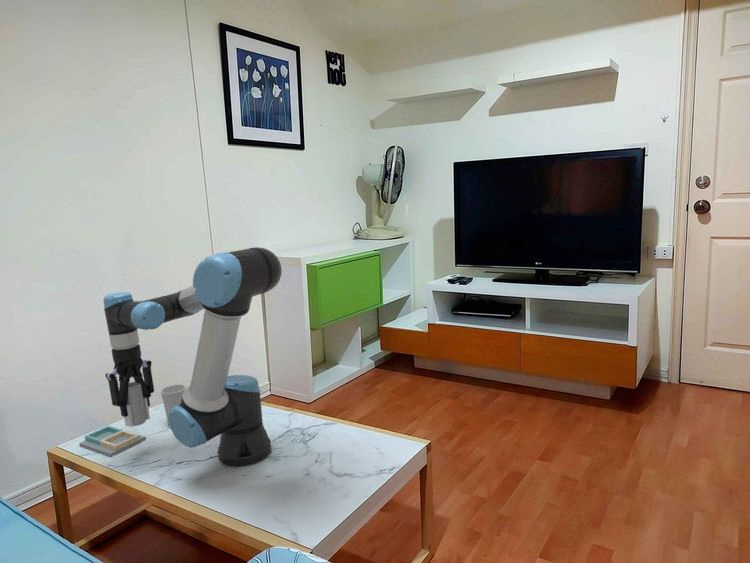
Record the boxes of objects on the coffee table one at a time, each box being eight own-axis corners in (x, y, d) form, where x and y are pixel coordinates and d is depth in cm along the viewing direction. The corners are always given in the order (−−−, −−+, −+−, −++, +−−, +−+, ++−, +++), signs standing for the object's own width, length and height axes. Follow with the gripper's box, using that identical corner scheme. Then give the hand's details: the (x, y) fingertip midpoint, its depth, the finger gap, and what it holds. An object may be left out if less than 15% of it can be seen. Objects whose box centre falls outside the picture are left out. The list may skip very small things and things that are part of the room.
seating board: (146, 439, 169) (144, 432, 169) (110, 457, 159) (109, 449, 159) (115, 430, 178) (114, 423, 177) (79, 446, 168) (78, 438, 167)
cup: (166, 420, 183) (161, 386, 181) (190, 415, 186) (186, 382, 183) (164, 429, 176) (159, 395, 174) (190, 425, 178) (185, 390, 176)
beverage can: (140, 426, 156) (133, 387, 154) (125, 426, 157) (119, 387, 155) (150, 419, 161) (144, 381, 159) (136, 419, 162) (129, 381, 160)
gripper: (144, 336, 165) (155, 408, 168) (88, 354, 150) (102, 432, 154) (160, 338, 161) (171, 412, 165) (104, 356, 146) (117, 436, 150)
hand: (137, 421), depth 159 cm, fingers closed on beverage can, 5 cm apart
